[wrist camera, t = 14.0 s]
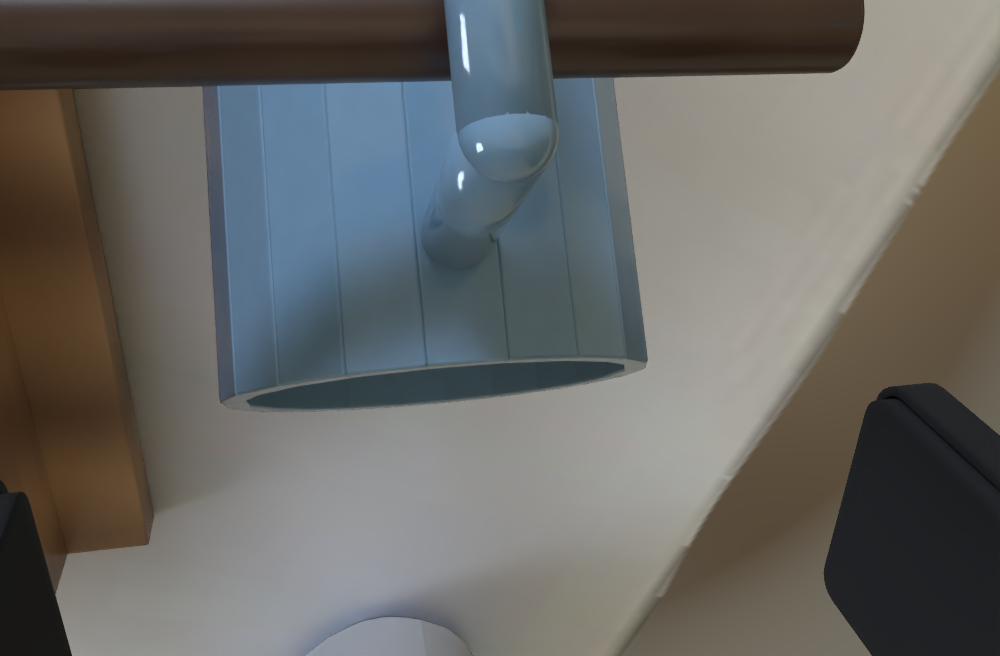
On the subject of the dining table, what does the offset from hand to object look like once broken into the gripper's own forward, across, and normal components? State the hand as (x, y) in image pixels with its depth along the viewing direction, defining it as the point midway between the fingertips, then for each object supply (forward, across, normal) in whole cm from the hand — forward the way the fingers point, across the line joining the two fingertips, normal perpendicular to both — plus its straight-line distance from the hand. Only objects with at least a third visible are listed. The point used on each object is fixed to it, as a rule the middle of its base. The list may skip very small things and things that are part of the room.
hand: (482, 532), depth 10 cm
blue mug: (+9, 0, -7) cm, 12 cm away
